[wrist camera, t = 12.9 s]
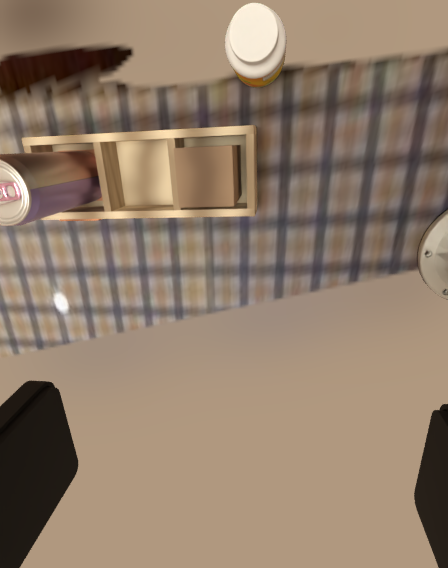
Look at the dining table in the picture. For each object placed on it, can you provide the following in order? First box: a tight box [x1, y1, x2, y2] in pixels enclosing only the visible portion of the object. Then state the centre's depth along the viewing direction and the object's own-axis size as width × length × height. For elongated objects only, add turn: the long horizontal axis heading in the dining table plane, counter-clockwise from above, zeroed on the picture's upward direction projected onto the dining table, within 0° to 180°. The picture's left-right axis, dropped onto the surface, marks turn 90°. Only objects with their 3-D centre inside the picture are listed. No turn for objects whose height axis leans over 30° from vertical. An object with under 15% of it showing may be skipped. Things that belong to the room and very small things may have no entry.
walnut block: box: [174, 145, 242, 208], centre depth 37 cm, size 6×6×8 cm
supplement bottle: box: [225, 3, 286, 88], centre depth 32 cm, size 5×5×10 cm
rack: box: [22, 125, 257, 221], centre depth 40 cm, size 25×9×5 cm, turn 92°
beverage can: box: [0, 151, 102, 226], centre depth 36 cm, size 6×6×15 cm
